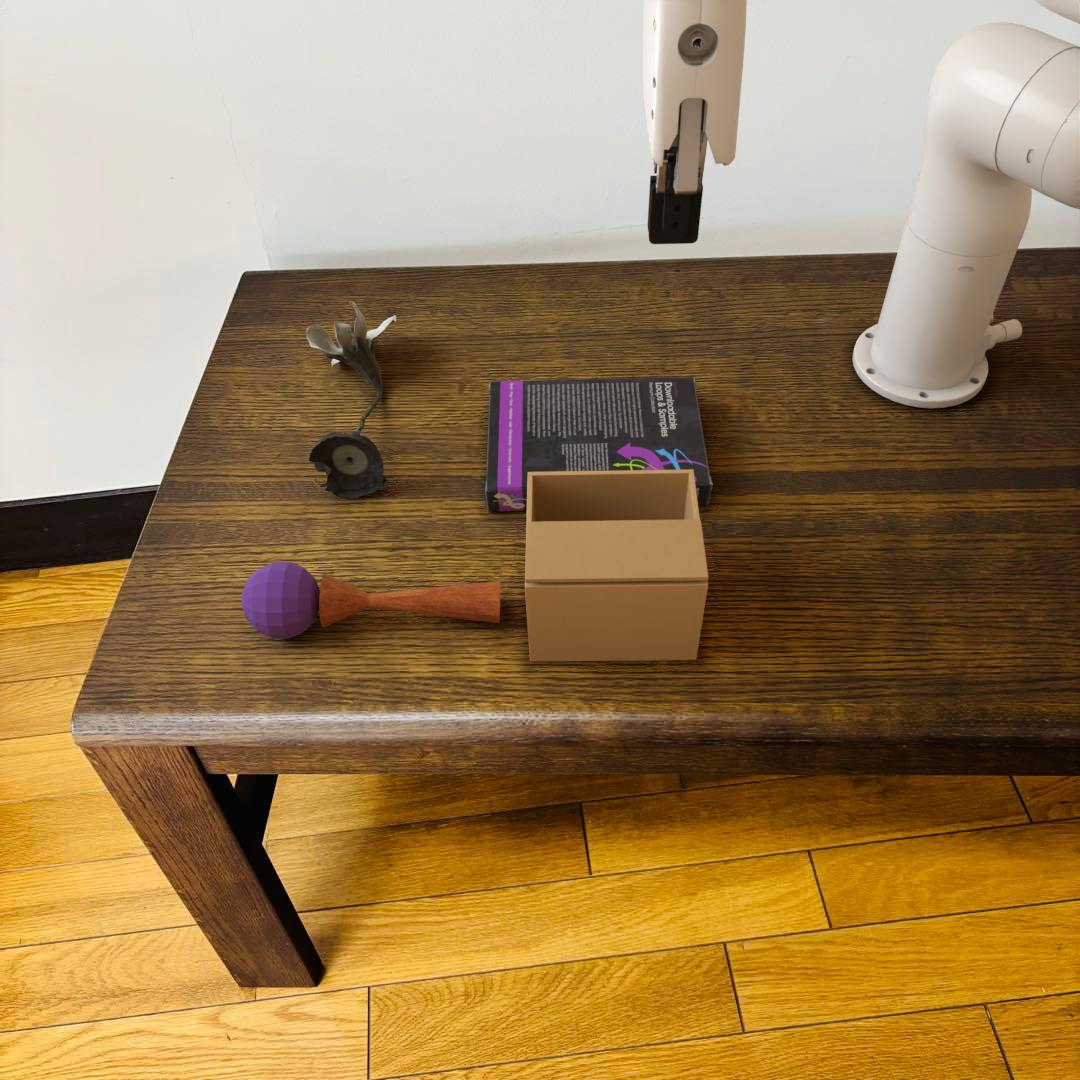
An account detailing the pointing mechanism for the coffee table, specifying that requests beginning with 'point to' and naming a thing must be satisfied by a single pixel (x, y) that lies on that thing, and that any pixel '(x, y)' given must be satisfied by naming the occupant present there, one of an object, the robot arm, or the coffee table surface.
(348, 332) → the artificial flower
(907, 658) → the coffee table surface
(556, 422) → the box
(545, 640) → the carton
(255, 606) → the kendama
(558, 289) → the coffee table surface
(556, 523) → the flap
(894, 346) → the robot arm
